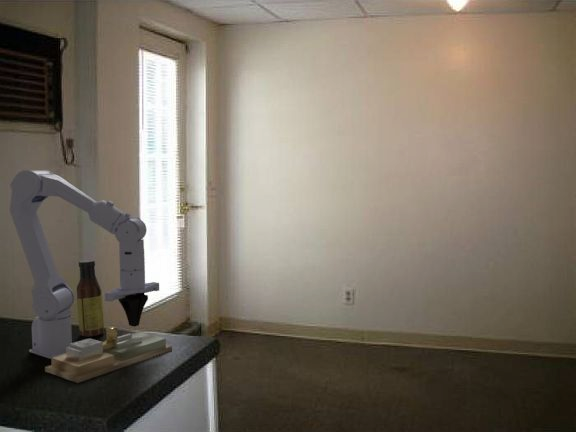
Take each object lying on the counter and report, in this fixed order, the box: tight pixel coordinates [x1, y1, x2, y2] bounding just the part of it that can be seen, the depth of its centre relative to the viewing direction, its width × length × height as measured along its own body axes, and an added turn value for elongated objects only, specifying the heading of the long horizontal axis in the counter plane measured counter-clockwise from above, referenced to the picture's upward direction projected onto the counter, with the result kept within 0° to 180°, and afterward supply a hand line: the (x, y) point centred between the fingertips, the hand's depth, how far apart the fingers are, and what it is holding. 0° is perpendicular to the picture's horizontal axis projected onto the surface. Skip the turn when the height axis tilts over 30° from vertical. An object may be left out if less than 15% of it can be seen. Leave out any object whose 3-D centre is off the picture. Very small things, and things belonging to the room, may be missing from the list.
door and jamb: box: [44, 331, 173, 384], centre depth 134 cm, size 12×26×3 cm, turn 144°
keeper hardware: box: [66, 333, 142, 362], centre depth 133 cm, size 5×17×3 cm, turn 144°
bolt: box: [102, 326, 118, 350], centre depth 132 cm, size 2×8×4 cm, turn 144°
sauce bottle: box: [76, 259, 105, 338], centre depth 155 cm, size 7×6×20 cm
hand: (134, 325), depth 139 cm, fingers closed
